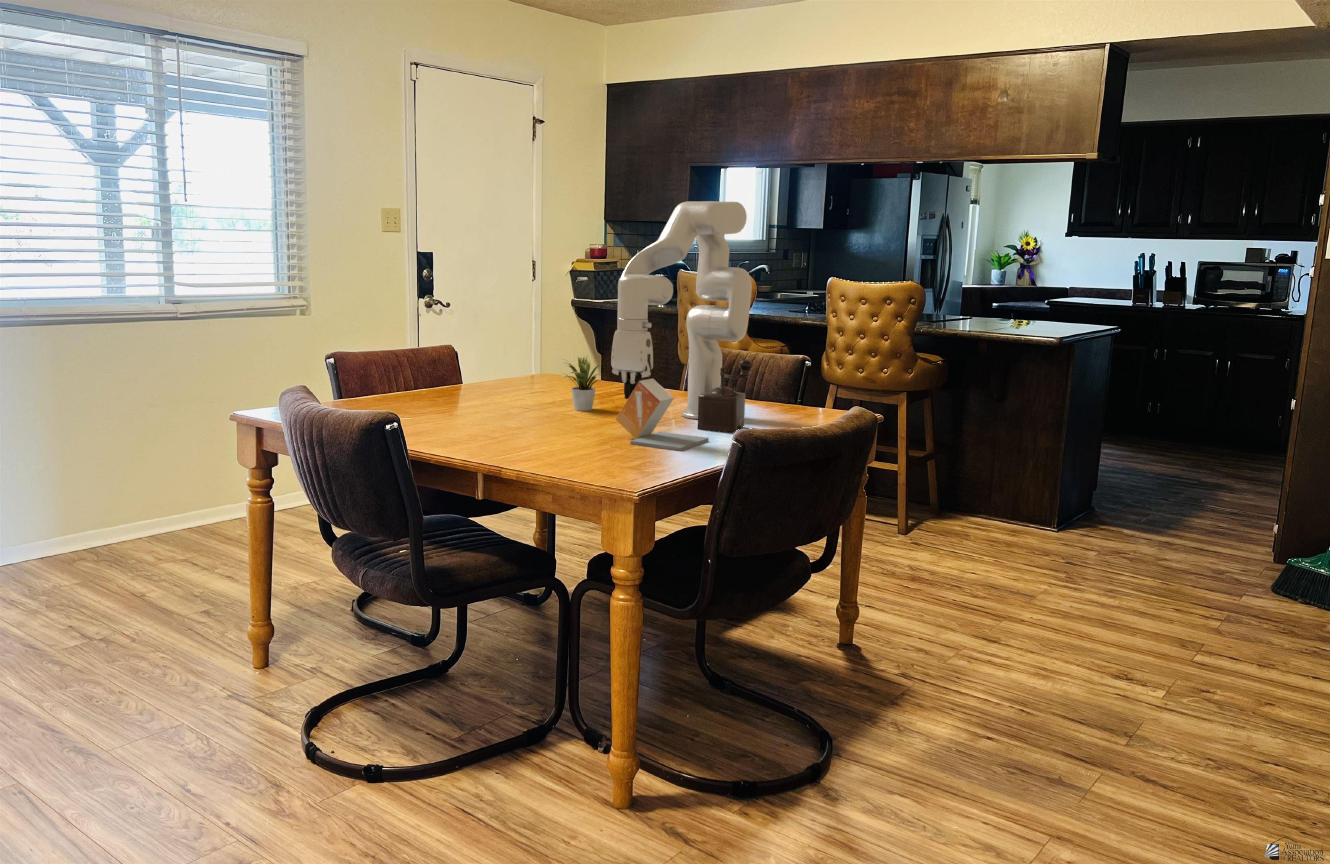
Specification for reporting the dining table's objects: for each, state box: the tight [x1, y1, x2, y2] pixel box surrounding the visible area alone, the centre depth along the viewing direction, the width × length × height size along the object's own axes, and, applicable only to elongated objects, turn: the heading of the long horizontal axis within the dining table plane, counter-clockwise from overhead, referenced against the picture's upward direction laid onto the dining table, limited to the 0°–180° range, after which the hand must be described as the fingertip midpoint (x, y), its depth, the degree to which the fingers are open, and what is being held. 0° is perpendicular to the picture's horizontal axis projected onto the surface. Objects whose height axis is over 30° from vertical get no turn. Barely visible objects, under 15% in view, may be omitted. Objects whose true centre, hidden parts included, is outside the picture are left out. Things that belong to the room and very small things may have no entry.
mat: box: [629, 431, 709, 452], centre depth 255 cm, size 15×14×1 cm
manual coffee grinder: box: [697, 359, 754, 434], centre depth 276 cm, size 16×11×18 cm
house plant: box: [561, 354, 603, 412], centre depth 298 cm, size 14×14×16 cm
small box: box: [615, 378, 675, 440], centre depth 257 cm, size 8×6×13 cm
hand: (630, 398), depth 259 cm, fingers closed
